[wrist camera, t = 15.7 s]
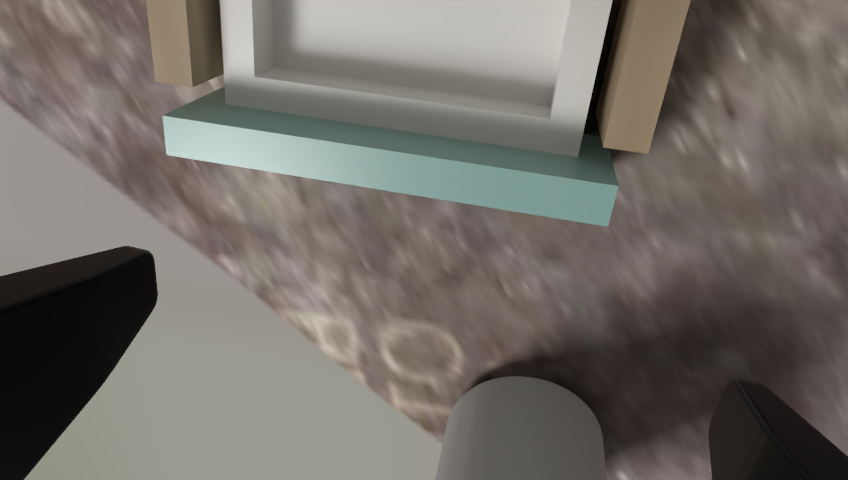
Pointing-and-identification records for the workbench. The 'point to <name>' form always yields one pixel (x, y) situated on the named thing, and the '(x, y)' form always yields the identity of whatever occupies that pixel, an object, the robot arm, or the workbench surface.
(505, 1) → the tray
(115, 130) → the workbench surface
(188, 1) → the dock
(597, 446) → the beverage can
